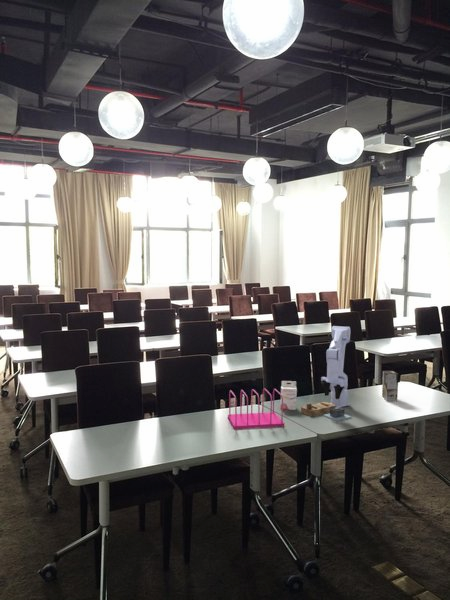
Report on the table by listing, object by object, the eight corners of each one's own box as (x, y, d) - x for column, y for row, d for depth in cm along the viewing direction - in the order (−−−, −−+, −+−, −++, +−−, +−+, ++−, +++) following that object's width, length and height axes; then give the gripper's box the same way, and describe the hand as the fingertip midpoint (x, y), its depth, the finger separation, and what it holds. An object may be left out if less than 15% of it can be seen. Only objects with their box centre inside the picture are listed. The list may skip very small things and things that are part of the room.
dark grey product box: (338, 413, 262) (338, 405, 262) (344, 415, 258) (344, 407, 258) (329, 415, 259) (330, 407, 258) (336, 417, 255) (336, 409, 255)
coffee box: (397, 401, 286) (398, 374, 285) (386, 401, 286) (387, 373, 285) (392, 397, 295) (393, 370, 294) (381, 397, 295) (382, 370, 294)
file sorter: (227, 418, 256) (227, 387, 255) (274, 415, 261) (275, 385, 260) (234, 429, 239) (234, 397, 238) (284, 426, 244) (285, 395, 242)
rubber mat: (337, 412, 266) (337, 411, 265) (351, 417, 257) (351, 416, 257) (323, 415, 260) (323, 414, 260) (337, 421, 252) (337, 420, 252)
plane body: (325, 407, 275) (325, 397, 275) (336, 410, 269) (336, 401, 268) (300, 412, 266) (301, 402, 265) (311, 416, 259) (311, 406, 258)
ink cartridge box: (280, 409, 271) (280, 382, 269) (280, 406, 275) (280, 380, 274) (296, 410, 270) (297, 383, 268) (296, 407, 275) (296, 381, 273)
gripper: (317, 369, 264) (316, 395, 265) (337, 375, 252) (337, 401, 253) (326, 368, 268) (326, 392, 269) (347, 373, 256) (346, 399, 257)
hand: (332, 397), depth 262 cm, fingers open, 7 cm apart
